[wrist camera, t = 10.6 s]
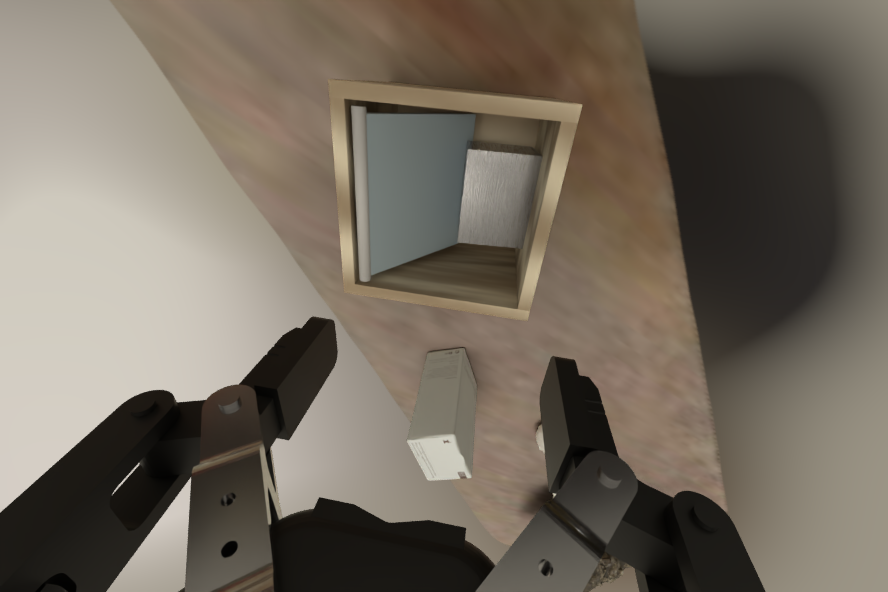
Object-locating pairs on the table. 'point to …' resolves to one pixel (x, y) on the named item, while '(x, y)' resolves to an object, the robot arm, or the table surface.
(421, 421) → the skincare box
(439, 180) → the hatch door
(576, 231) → the table surface
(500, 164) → the metal brick
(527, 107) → the hatch box
